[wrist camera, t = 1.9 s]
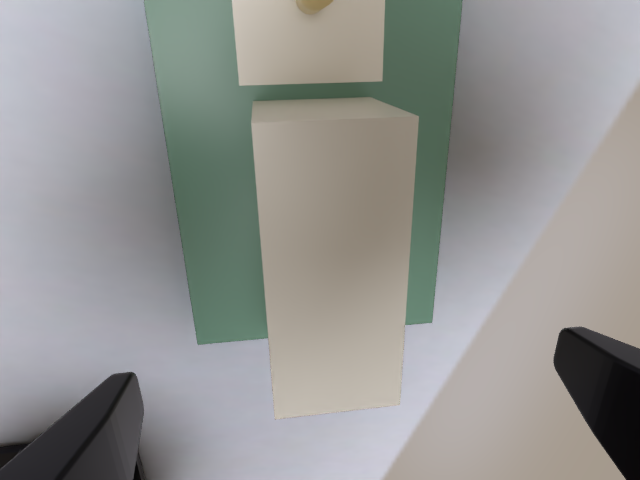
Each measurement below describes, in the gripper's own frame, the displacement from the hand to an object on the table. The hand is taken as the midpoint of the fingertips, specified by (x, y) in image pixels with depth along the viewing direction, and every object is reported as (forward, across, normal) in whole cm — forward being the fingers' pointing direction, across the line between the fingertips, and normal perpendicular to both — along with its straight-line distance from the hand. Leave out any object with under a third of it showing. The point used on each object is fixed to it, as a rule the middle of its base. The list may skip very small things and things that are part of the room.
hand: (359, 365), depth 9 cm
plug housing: (+8, 0, 0) cm, 8 cm away
